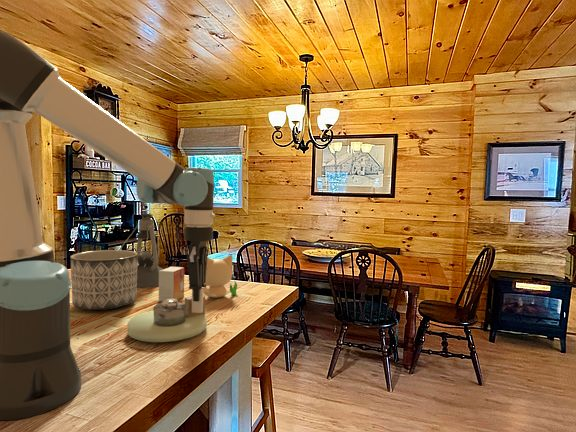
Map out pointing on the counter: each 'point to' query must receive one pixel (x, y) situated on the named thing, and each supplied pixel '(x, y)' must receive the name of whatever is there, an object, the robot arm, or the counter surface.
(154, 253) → the lantern
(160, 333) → the turntable
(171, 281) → the small box
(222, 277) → the kitten
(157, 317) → the cover
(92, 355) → the counter surface
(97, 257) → the planter
